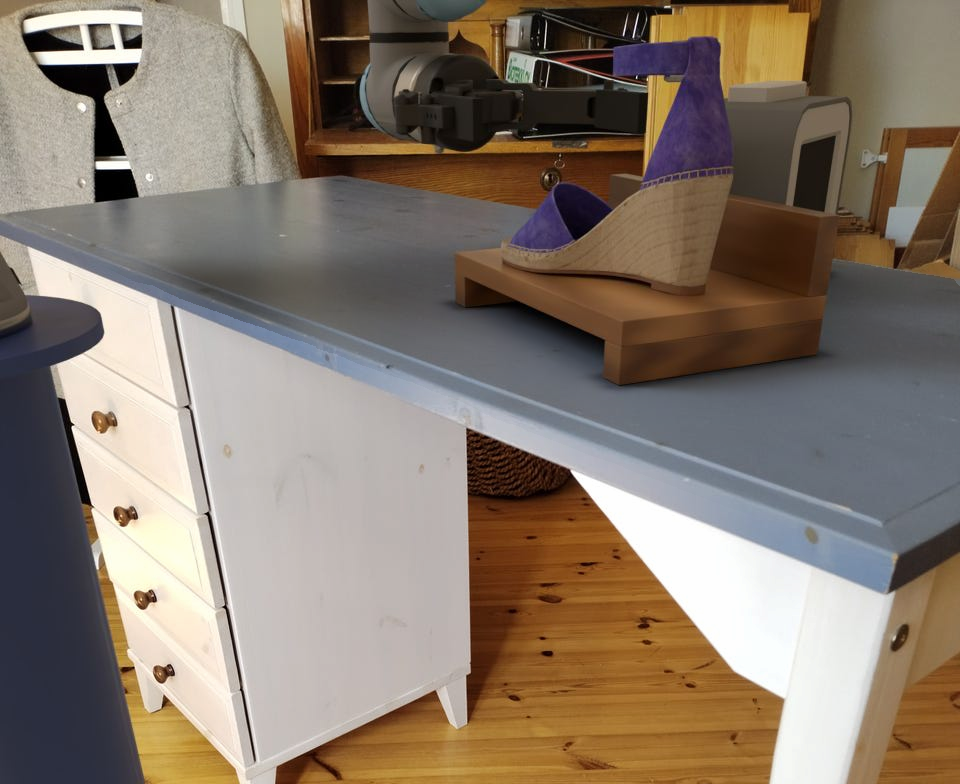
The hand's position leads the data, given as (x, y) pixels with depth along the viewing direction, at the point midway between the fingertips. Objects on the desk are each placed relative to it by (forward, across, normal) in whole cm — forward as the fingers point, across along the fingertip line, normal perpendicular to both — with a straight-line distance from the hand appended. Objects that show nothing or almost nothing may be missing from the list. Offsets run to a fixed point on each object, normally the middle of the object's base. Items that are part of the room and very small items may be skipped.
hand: (563, 116), depth 74 cm
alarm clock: (-4, -20, -14) cm, 25 cm away
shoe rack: (+6, -2, -14) cm, 15 cm away
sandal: (+6, 0, -10) cm, 12 cm away
